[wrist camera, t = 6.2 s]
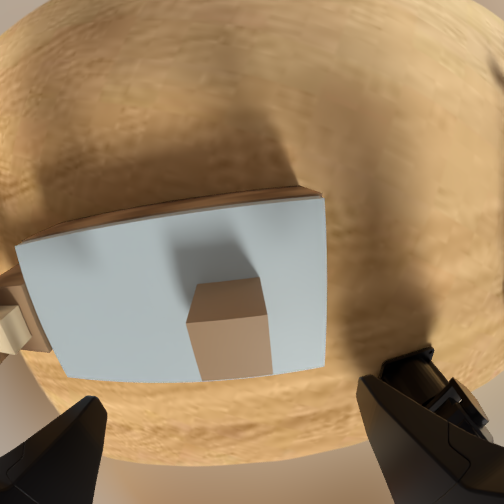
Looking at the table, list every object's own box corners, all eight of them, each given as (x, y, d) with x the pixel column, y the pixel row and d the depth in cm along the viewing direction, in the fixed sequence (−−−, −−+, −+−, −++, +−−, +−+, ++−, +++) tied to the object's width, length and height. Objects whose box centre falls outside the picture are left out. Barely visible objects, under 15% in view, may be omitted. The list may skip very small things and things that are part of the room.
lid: (318, 195, 13) (355, 211, 9) (320, 356, 16) (341, 408, 12) (24, 241, 13) (-23, 266, 8) (73, 368, 16) (48, 409, 11)
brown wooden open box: (299, 185, 18) (367, 210, 8) (306, 317, 21) (347, 415, 11) (16, 234, 17) (-63, 275, 8) (49, 333, 20) (-3, 398, 11)
